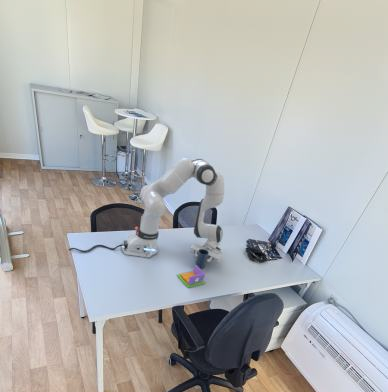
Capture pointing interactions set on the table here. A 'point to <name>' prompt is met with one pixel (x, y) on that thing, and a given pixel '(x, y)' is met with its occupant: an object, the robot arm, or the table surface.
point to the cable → (254, 255)
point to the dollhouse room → (193, 277)
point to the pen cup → (201, 258)
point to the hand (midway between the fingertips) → (201, 258)
